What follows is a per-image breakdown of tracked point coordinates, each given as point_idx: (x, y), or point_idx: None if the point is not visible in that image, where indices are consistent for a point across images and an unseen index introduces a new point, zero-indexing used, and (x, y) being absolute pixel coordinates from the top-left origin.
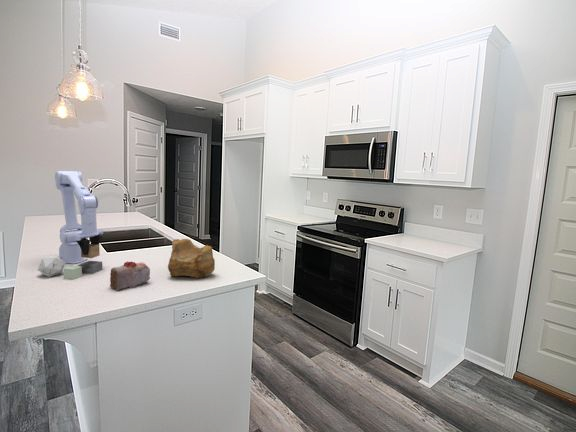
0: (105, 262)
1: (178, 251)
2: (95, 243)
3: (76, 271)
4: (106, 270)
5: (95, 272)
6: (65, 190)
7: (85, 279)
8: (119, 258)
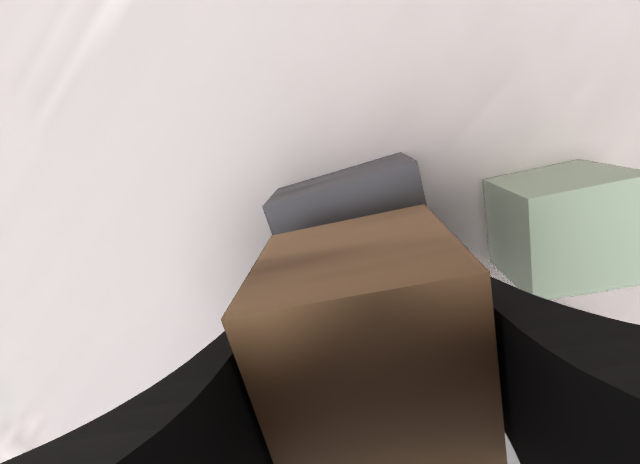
0: (148, 321)
1: None
2: (237, 415)
3: (581, 177)
4: (277, 137)
5: (368, 162)
6: None
7: (545, 71)
8: (21, 319)
